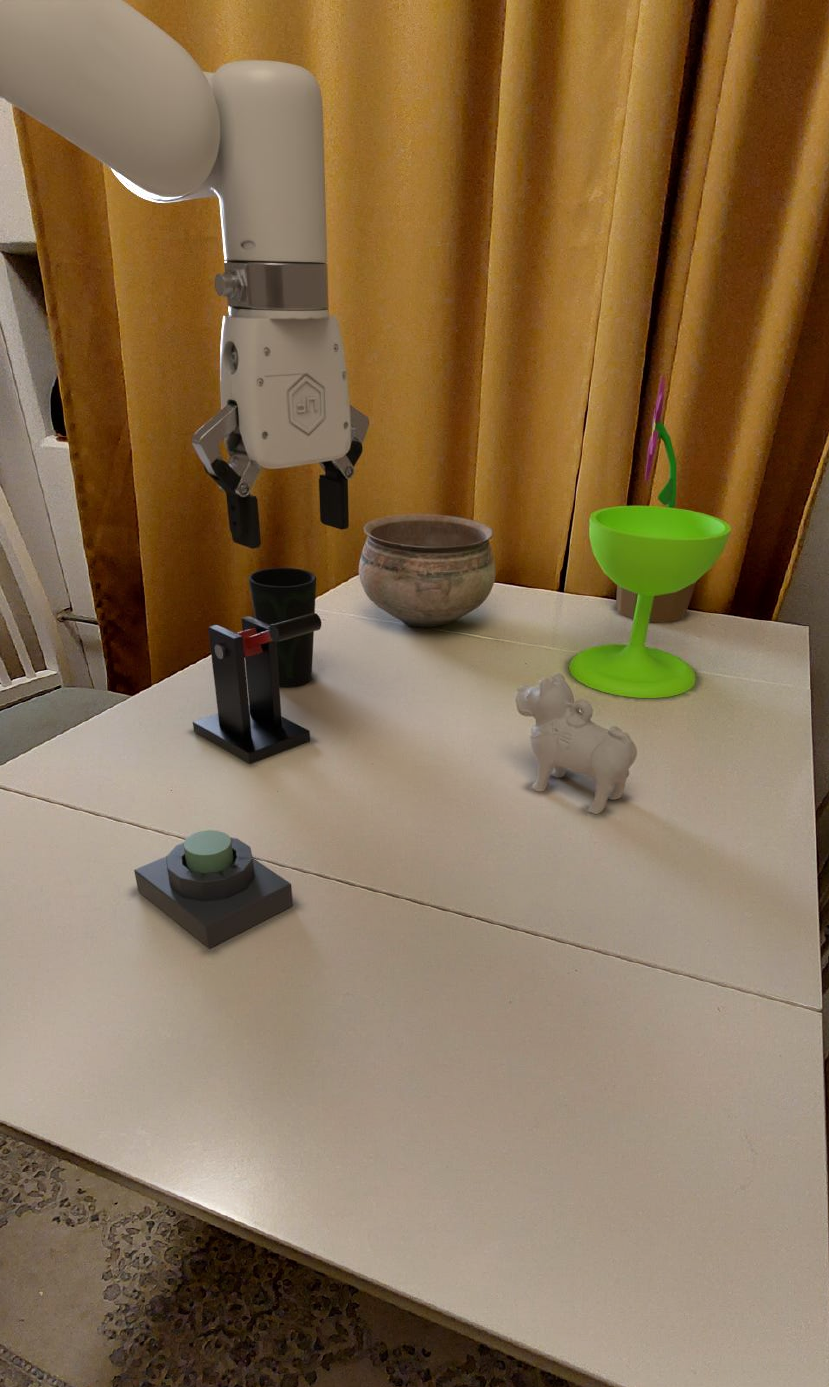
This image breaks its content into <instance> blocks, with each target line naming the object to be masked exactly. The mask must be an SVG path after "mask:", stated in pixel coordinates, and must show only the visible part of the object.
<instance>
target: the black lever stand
mask: <svg viewBox="0 0 829 1387" xmlns="http://www.w3.org/2000/svg"><path fill="white" fill-rule="evenodd" d="M269 627H270V625H268V624H266V623H264V622H261V621H259V620H257V619H255V617H252V616H245V617H241V630H242V631H246V630H249V629H253V628H255V629H256V632H257V634H259V633H262V632H265V631H268V630H269ZM207 629H208V637H209V638H208V639H209V647H210V656H211V662H212V663H211V664H212V674H213V681H214V689H215V698H216V707H217V708H216V709H217V713H215V714H212V715H208V716H206V717H203V718H200V719H197V720H194V721H192V726H193V728H192V729H193V732H194V733H195V734H197V735H199V736H200V737H202V738H204V739H206V740H207V741H209V742H211V743H212V744H215V745H216V746H217V747H219V748H221V749H223V750H225V751H226V752H228V753H230V754H232V755H233V756H235V757H237V758H239V759H241V760H242V761H244V762H246V763H247V764H253V763H255V762H259V761H261V760H263V759H266V758H269V757H271V756H274V755H277V754H279V753H282V752H285V751H288V750H290V749H292V748H296V747H298V746H300V745H303V744H305V743H308V742H311V731H310V729H307V728H306V727H303V726H301V725H299V724H297V723H296V722H294V721H291V720H289V719H287V718H286V717H284V716H282V704H281V690H280V689H281V688H280V687H279V674H278V659H277V644H276V642H274V641H271V642H268V643H265V644H262V645H261V647H262V650H263V652H262V653H258V654H255V655H252V656H249V657H245V658H244V647H243V637H242V636H240V635H238V634H236V633H237V632H234V631H231V630H229V629H227V628H225V627H222V626H220V625H218V624H214V625H209V626H208V628H207ZM242 631H241V632H242Z"/></svg>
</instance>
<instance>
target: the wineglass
mask: <svg viewBox="0 0 829 1387" xmlns="http://www.w3.org/2000/svg"><path fill="white" fill-rule="evenodd" d="M588 525H589V527H588V529H589V532H588V538H589V541H590V546H591V550H592V554H593V556H594V558H595V560H596V561H597V563H598V565H599V567H600V568H601V570H602V572H603V574H604V575H606V576H607V578H608V579H610V580H611V581H612V582H613V583H614V584H615V585H616V586H617V585H618V586H620V587H622V588H624V589H626V590H629V591H631V592H633V593H636V594H638V597H637V603H636V609H635V614H634V619H632V626H631V631H630V637H629V642H628V644H626V643H625V644H621V643H614V644H602V645H597V646H592V647H589V648H586V649H584V650H582V651H581V650H580V651H579V652H578V653H577V654H575V656H574V657H573V658H571V660H570V662H569V666H568V672H569V673H570V675H571V677H573V678H574V679H575V680H576V681H578V682H579V683H581V684H583V685H585V686H586V687H588V688H591V689H593V690H597V691H599V692H603V693H607V694H611V695H615V696H620V697H628V698H636V699H659V698H660V699H661V698H670V697H674V696H677V695H682V694H684V693H686V692H688V691H691V689H693V687H694V686H695V685H696V673H695V671H694V670H693V668H692V667H691V666H690V664H689V663H688V662H686V661H685V660H684V659H682V658H681V657H679V656H676V655H674V654H673V653H670V652H667V651H664V650H661V649H658V648H653V647H649V646H646V640H647V634H648V629H649V623H650V622H649V619H650V614H651V608H652V603H653V598H654V596H657V595H663V594H668V593H674V592H677V591H680V590H681V589H683V588H685V587H687V586H689V585H691V584H693V583H695V582H696V581H697V582H698V581H699V579H701V578H702V577H703V576H704V575H705V574H706V573H707V572H709V570H711V569H712V568H713V566H715V564H716V562H717V561H718V559H719V557H720V556H721V555H722V553H723V552H724V550H725V548H726V545H727V542H728V541H729V537H730V534H731V531H732V527H731V525H730V524H729V523H728V522H726V521H725V520H723V519H721V518H719V517H716V516H714V515H711V514H707V513H703V512H698V511H694V510H689V509H685V508H683V509H682V508H676V507H674V508H669V507H667V506H658V505H657V506H656V505H618V506H610V507H605V508H601V509H597V510H595V511H594V512H591V513H590V516H589V524H588ZM697 582H696V583H697Z"/></svg>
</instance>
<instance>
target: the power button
mask: <svg viewBox="0 0 829 1387" xmlns="http://www.w3.org/2000/svg"><path fill="white" fill-rule="evenodd" d="M230 837H231V836H230V835H228V833H226V832H223V831H221V830H213V829H206V830H201V831H200V830H199V831H197V832H194V833H192V834H190V835H189V836H187V837H186V838H185V840H184V841H183V843H184V851H185V858H186V864H187V867H188V868H189V869H190V870H192V871H194V872H200V873H210V872H218V871H221V870H224V869H226V868H228V867H230V866H231V865H232V863H233V851H232V842H231V838H230Z"/></svg>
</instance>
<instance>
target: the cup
mask: <svg viewBox="0 0 829 1387" xmlns="http://www.w3.org/2000/svg"><path fill="white" fill-rule="evenodd" d="M248 584H249V590H250V596H251V602H252V607H253V614H254V619H257V620H259V621H261V622H264V623H266V624H268V625H272V624H276V623H279V622H283V621H287V620H290V619H294V618H298V617H301V616H305V615H309V614H312V613H316V596H317V595H316V594H317V593H316V592H317V576H316V574H314V573H313V572H311V571H310V570H306V569H302V568H295V567H271V568H270V567H269V568H265V569H260V570H257V571H254V572H251V574H250V575H249V576H248ZM314 633H315V631H313V632H310V633H307V634H303V635H300V636H296V637H293V638H289V639H286V640H282V641H279V642H276V644H277V659H278V674H279V688H296V687H301V686H304V685H307V684H309V683H310V682H311V681H312V678H313V677H312V676H313V657H314V656H313V655H314V636H315V634H314Z"/></svg>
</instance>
